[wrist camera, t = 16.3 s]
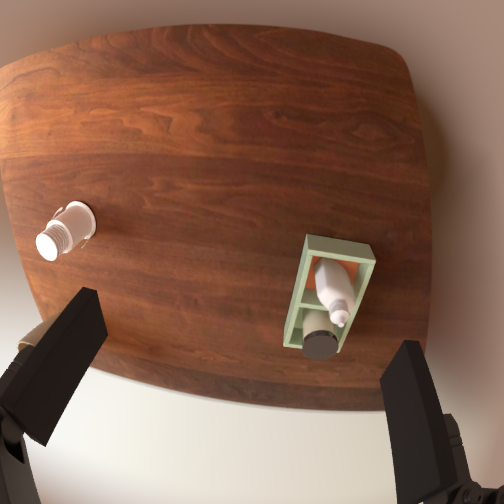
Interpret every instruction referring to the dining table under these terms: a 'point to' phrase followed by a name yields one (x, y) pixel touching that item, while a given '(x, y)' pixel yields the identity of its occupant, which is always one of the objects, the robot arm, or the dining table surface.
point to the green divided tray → (305, 293)
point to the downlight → (66, 230)
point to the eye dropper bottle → (334, 290)
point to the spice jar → (318, 334)
